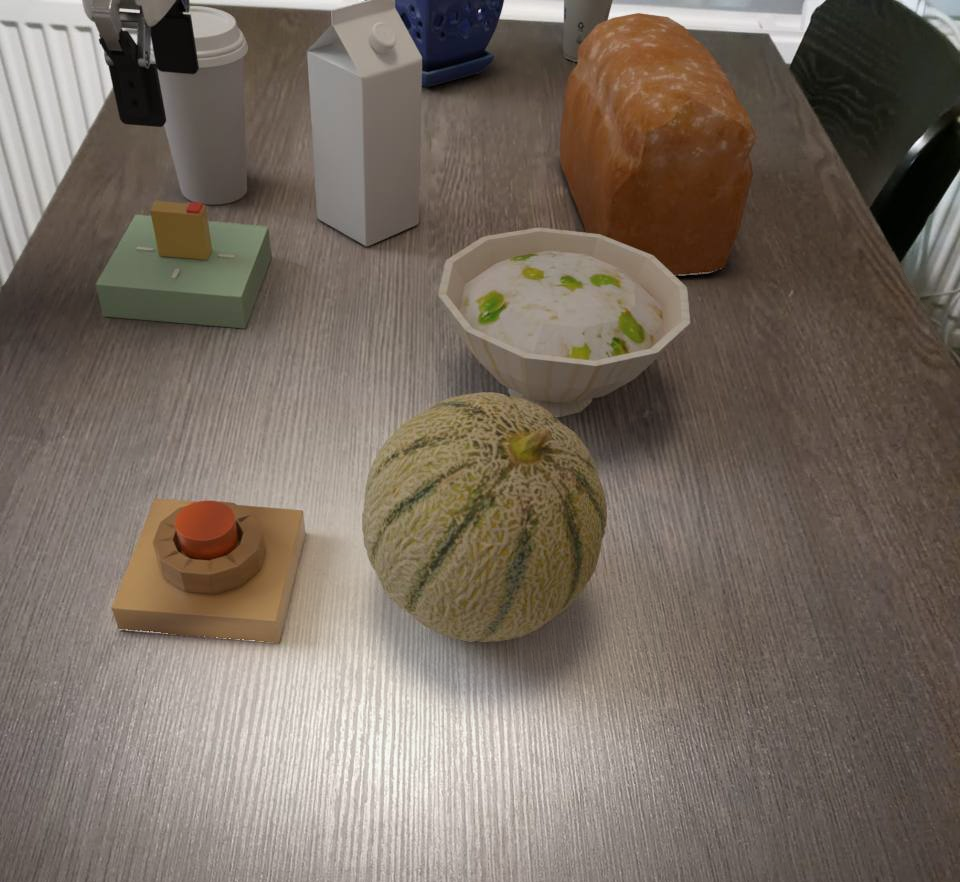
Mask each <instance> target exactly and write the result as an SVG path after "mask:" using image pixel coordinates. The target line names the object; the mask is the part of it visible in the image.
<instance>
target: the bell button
mask: <svg viewBox="0 0 960 882" xmlns="http://www.w3.org/2000/svg"><path fill="white" fill-rule="evenodd" d="M217 501H218V500H217ZM217 501H216V500H199V501H195V503H192V504H189V505H188V506H186V507H184V508H183V509H182V510H181V511H180V512H179V513H178V514H177V516H176V519H175V528H176V532H177V536H178V541H179V545H180V548H181V550H182V551H183V552H184V553H185V554H186V555H187V556H189V557H191V558H193V559H197V560H212V559H216V558H219V557H223V556H226V555H228V554H229V553H230V552H232V551H233V550H234V548H235V547H236V545H237V543H238V532H237V527H236V521H235V515H234V513H233V511H232V510H231V509H230V508H229V507H228V506H227V505H225V504H223V503H221V502H222V501H219V502H217Z"/></svg>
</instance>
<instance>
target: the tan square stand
mask: <svg viewBox="0 0 960 882" xmlns="http://www.w3.org/2000/svg"><path fill="white" fill-rule="evenodd" d="M195 502H196V501H193V500H181V499H170V498H169V499H168V498H158V497H156V498H154V499H153V501H152V504H151V506H150V509H149V512H148V514H147V517H146V518H145V519H146V520H145V522H144V524H143V527H142V529H141V532H140V534H139V537H138V539H137V542H136V545H135V547H134V551H133V552H132V554H131V557H130V560H129V563H128V565H127V566H126V570H125V573H124V575H123V578H122V580H121V583H120V585H119V587H118V590H117V594H116V596H115V598H114V600H113V603H112V605H111V611H112V615H113V617H114V620H115V623H116V626H117V628H118V630H119V629H124V630H125V629H128V630H134V631H135V630H138V631H140V630H142V631H149V632H150V631H153V632H161V633H168V634H176V635H183V636H182V637H188V636H192V637H191V638H194V637H193V636H196V637H195V638H201V637H204V636H205V637H208V638H207V639H211V638H210V637H213V638H212V639H214V638H216V637H218V638H221V639H220V640H224V639H223V638H226V639H225V640H227V639H229V638H231V639H240V640H242V639H244V640H255V641H264V642H263V643H265V642H274V643H273V644H277V643H279V642H280V643H281V640H282V636H283V631H284V626H285V623H286V618H287V613H288V609H289V606H290V601H291V597H292V593H293V588H294V584H295V580H296V575H297V571H298V566H299V562H300V558H301V555H302V551H303V546H304V541H305V537H306V526H305V525H306V524H305V513H304V510H302V509H291V508H279V507H268V506H267V507H266V506H257V505H256V506H254V505H245V504H244V505H243V504H237V503H235V502H231V501H218V500H217V502H221V503H223V504H225V505H227V506H228V507H229V508H230V509H231V510H232V511H233V513H234V515H235V521H236V527H237V532H238V543H237V545H236V547H235V548H234V550H233V551H232V552H230V553H229V554H228V555H226V556H223V557H219V558H216V559H212V560H197V559H193V558H191V557H189V556H187V555H186V554H185V553H184V552H183V551H182V550H181V548H180V545H179V541H178V536H177V532H176V528H175V519H176V516H177V514H178V513H179V512H180V511H181V510H182V509H183V508H184V507H186V506H188V505H189V504H192V503H195ZM176 635H175V636H176ZM187 635H188V636H187ZM198 636H200V637H198ZM280 639H281V640H280ZM280 643H279V644H280Z"/></svg>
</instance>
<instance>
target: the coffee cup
mask: <svg viewBox="0 0 960 882" xmlns="http://www.w3.org/2000/svg"><path fill="white" fill-rule="evenodd" d="M183 14H191V19H192V26H193V32H194V39H195V46H196V52H197V59H198V65H199V69H198V71H197V73H196V74H184V73H172V72H161V71H159V70H158V69H157V71H158V76H159V82H160V87H161V93H162V98H163V104H164V109H165V115H166V123H165V124H164V126H163V127H164V130H165V134H166V138H167V141H168V145H169V149H170V154H171V158H172V161H173V165H174V170H175V173H176V177H177V181H178V185H179V189H180V192H181V195H182V196H183V197H184V198H185V199H187V200H188V201H189V202H201V203H203V205H205V206H206V205H209V206H217V205H218V206H219V205H226V204H231V203H235V202H236V201H239V200H240V199H242V198H243V197H245V196H246V194H247V193H248V175H247V174H248V173H247V172H248V171H247V170H248V169H247V142H246V137H247V136H246V109H245V107H246V105H245V104H246V103H245V71H244V69H245V66H244V57H245V55H246V54H247V53H248V51H249V45H248V42H247V39H246V37H245V36H244V33H243V31H242V30H241V29H240V28H239V27H238V26H239V25H238V23H237V21H236V18H235V17H234V16H233V15H231V14H230V13H228V12H227V11H224V10H223V9H222V10H221V9H218V8H214V7H211V6H210V7H209V6H203V5H202V6H201V5H190V10H189V13H185V12H183ZM150 63H153V64H156V62H155V56H154V51H153V45H152V40H151V49H150Z"/></svg>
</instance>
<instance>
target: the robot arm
mask: <svg viewBox="0 0 960 882" xmlns="http://www.w3.org/2000/svg"><path fill="white" fill-rule="evenodd" d="M81 2H82V3H81V4H82V7H83V10H84V11H83V12H84V14H85V15H86V17H87V18H88V19H89V20H90V21H91V22H92V23H94V24H95V27H96V29H97V32H98V36H99V38H98V42H99V44H100V45H101V48H102V50H103V57H104V61H105V64H106V65H107V66H108V70H109V75H110V80H111V84H112V89H113V93H114V98H115V104H116V108H117V112H118V117H119V120H120V121H121V123H123V124H124V125H129V126H130V125H131V126H142V127H143V126H144V127H156V128H162V127H165V126H164V124H165V123H166V115H165V109H164V104H163V98H162V93H161V87H160V82H159V76H158V71H157V69H158V70H159V71H161V72H172V73H184V74H196V73H197V71H198V69H199V65H198V59H197V52H196V46H195V39H194V32H193V26H192V19H191V14H183V12H185V13H189V10H190V6H191V4H190V0H81ZM120 9H122V10H132V11H133V10H134V11H139V12H132V11H131V12H130V11H122V10H121V11H120ZM124 29H131V30H136V41H135V40H134V38H133V36H132V35H131V33H130V32H129V31H128V30H124ZM151 40H152V45H153V51H154V56H155V62H156V64H153V63H150V49H151Z"/></svg>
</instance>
